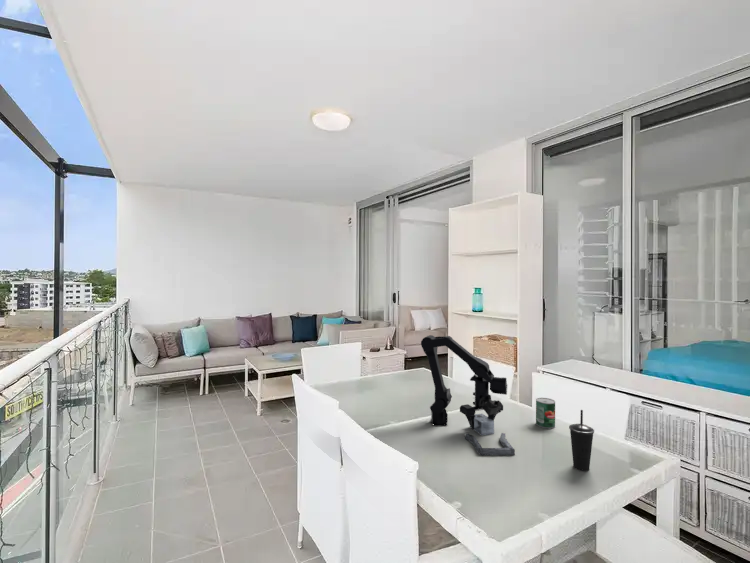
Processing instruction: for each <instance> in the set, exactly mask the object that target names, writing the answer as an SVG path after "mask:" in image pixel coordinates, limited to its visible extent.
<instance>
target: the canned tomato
mask: <svg viewBox="0 0 750 563" xmlns="http://www.w3.org/2000/svg"><path fill="white" fill-rule="evenodd" d="M535 424H536V426H537V427H539V428H543V429H554V428H556V401H555V400H554V399H552V398H548V397H537V398H535Z"/></svg>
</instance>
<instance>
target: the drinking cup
mask: <svg viewBox="0 0 750 563" xmlns="http://www.w3.org/2000/svg"><path fill="white" fill-rule="evenodd" d="M583 413H584V410H583V409H580V420H579V422H580V423H574V424H569V428H568V429H569V432H570V433H569V434H570V440H571V442H570V443H571V453H572V456H571V457H572V465H573V468H575V469H576V470H578V471H582V472H588V471H589V470H590V465H591V457H592V450H593V449H592V447H593V440H594V438H593V437H594V433H595V429H594V428H593V427H591V426H588V425H587V424H584V422H583V421H584V414H583Z"/></svg>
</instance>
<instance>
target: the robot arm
mask: <svg viewBox="0 0 750 563" xmlns="http://www.w3.org/2000/svg"><path fill="white" fill-rule="evenodd" d="M420 346H421V348H422V351H423V353H424V354H425V355H426V357H427V359H428V364H429V368H430V373H431V377H432V380H433V385H434V402H432V404H431V405H430V406H429V409H430V411H431V414H430V417H431V418H430V422H431V421H432V423H431V425H432V424H434V425H447V426H448V419H449V418H448V416H449V415H448V412H447V410H446V408H448V406H449V404H451V402H452V398H453V396H452V393H451V388H450V387H449V388H447V387H446V385H445V382H444V378H443V374H442V368H441V365H440V361H439V356H438V348H440V347H446V348H448V349H449V350H450V351H451V352H452V353H453V354H455V355H456V357H457V356H458V357H459V358H460V359H461V360H462V361H463V362H465V363H466V364H467V366H468V367H469V369H470V370H471V371H472V372H473V373H474V374H473V375H472V376H471V377H470V378H469V381H471V382H474V392H472V395H473V396H474V401H472V405H473V406H472V405H470V404H462V405H460V407H459V412H460V413H461V414H462V415H465V418H466V420H467V422H468V424H469V427H470V426H471V428H470V429H471V430H473V429H474V418H475V416H476V415H474V414H476V412H477V411H484V412H485V413H486V414H487V417H488V418H490V419H492V420H493V421H494V422H495V418H496V416H497V415H498V414H500V413H501V412H502V411H504V404H503V403H502V401H500V400H499V399H498V400H492V395H491V394H490V393H489V392H492V394H497V395H505V396H506V395H508V383H507V381H508V380H507V377H499V376H498V377H497V376H496V377H495V375H494V373H493V372H492V371H491V369H490V365H489V363H488V362H487V361H485V360H484V359H482V358H479V357H478V356H475V355H473V354H472V353H470V352H469V351H468V350H467V349H466V348H464V347H463V346H462V345H461V344H460V343H459V342H457V340H455V339H453V337H451V336H450V335H446V336H435V335H432V334H430V335H426V336H425V337H423V338H422V339H421V341H420Z"/></svg>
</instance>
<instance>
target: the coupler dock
mask: <svg viewBox="0 0 750 563" xmlns="http://www.w3.org/2000/svg"><path fill="white" fill-rule="evenodd" d="M499 437H500V438H499V439H500V440H499V442H500V443H501V445H502V446H503V447H482V445H481V444H480V441H479V440H478V439H477V437H476V436H474V435H472V434H470V433H469V432H467V433H465V434H464V440H466V441H468V442H470V443H471V444H472V445H473V446H474V449H475V450H476V452H477V453H478V455H479V456H515V453H516V452H515V450H516V449H515V447H513V446H512V445H511V444H510V442H509V441H508V440H507V439H506V433H504V432H501V434H500V436H499Z"/></svg>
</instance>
